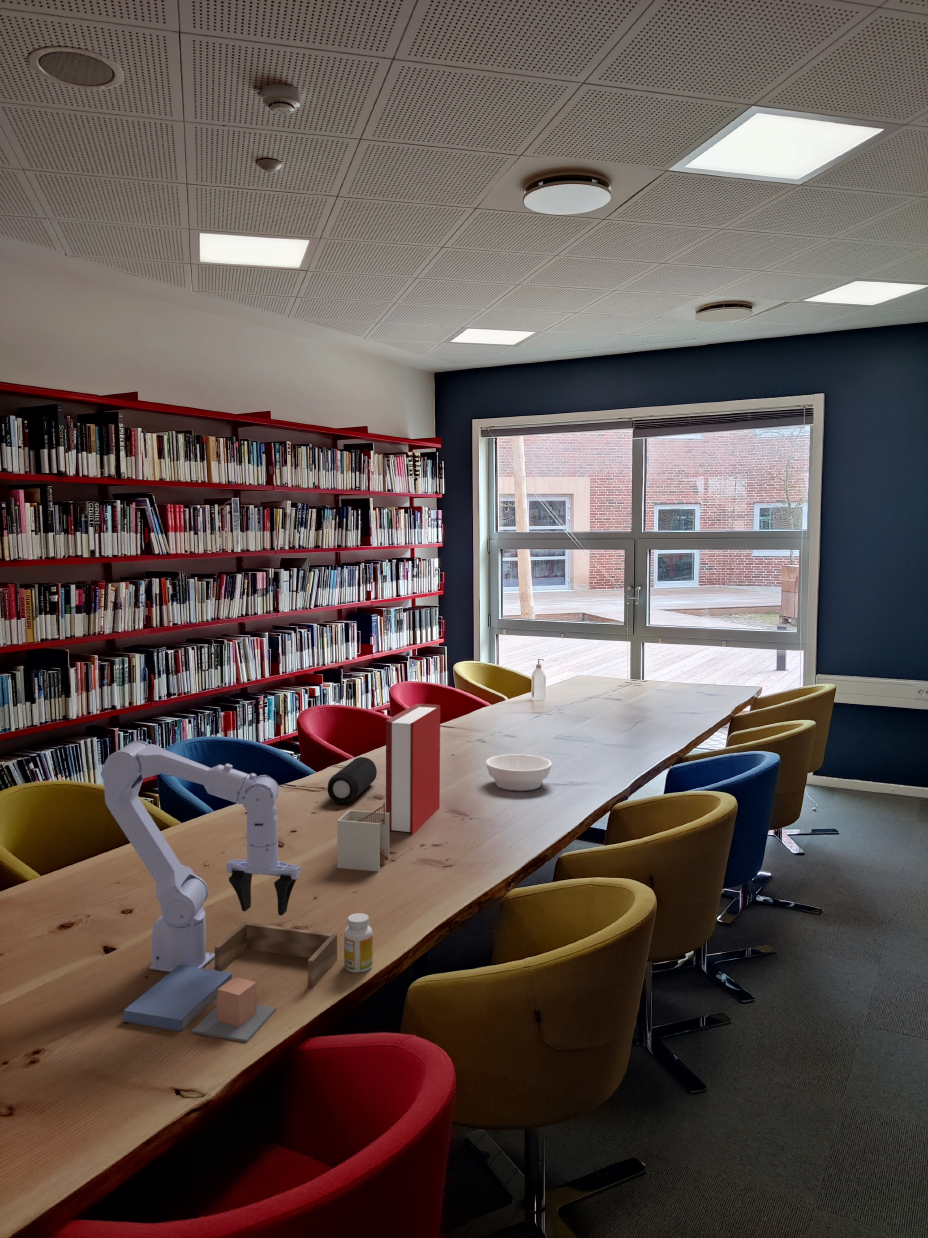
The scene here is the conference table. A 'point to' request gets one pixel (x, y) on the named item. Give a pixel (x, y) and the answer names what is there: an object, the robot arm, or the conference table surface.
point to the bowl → (518, 771)
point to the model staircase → (363, 840)
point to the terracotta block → (237, 1001)
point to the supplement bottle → (358, 944)
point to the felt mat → (233, 1032)
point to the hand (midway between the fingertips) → (264, 911)
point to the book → (413, 767)
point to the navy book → (177, 998)
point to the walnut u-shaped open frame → (280, 946)
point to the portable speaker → (352, 780)
